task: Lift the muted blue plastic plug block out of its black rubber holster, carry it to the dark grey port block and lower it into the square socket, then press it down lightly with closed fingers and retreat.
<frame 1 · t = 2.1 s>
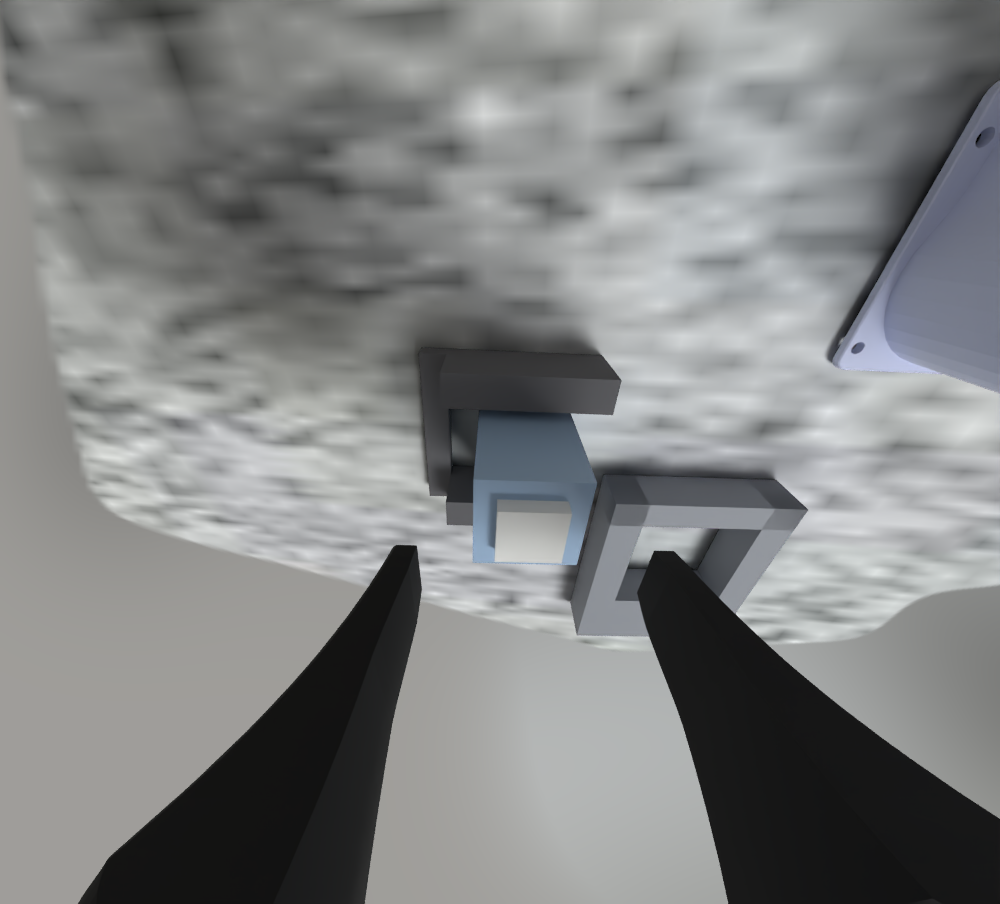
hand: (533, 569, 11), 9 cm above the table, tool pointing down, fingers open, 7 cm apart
port: (665, 536, 23), on the table
holster: (519, 428, 18), on the table
plug: (519, 428, 18), resting in holster
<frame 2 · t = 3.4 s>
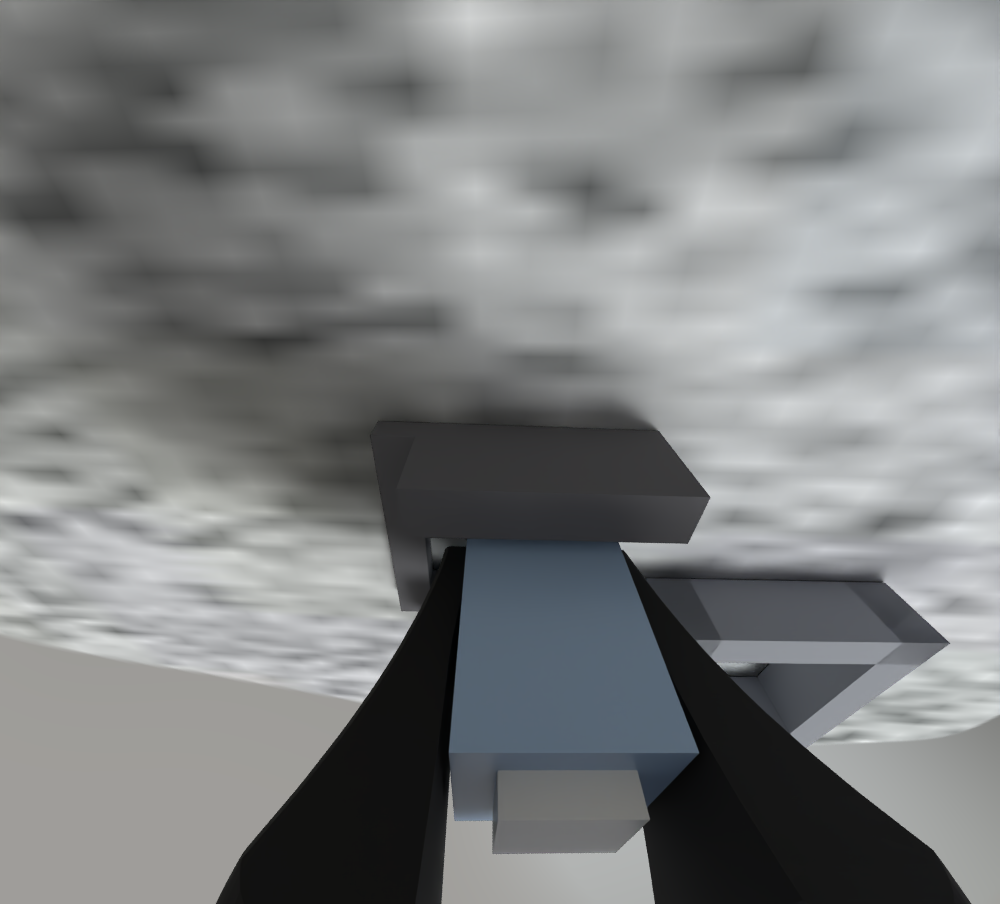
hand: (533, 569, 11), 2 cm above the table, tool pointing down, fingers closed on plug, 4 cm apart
port: (721, 643, 17), on the table
holster: (528, 525, 13), on the table
plug: (528, 525, 13), resting in holster, touching gripper
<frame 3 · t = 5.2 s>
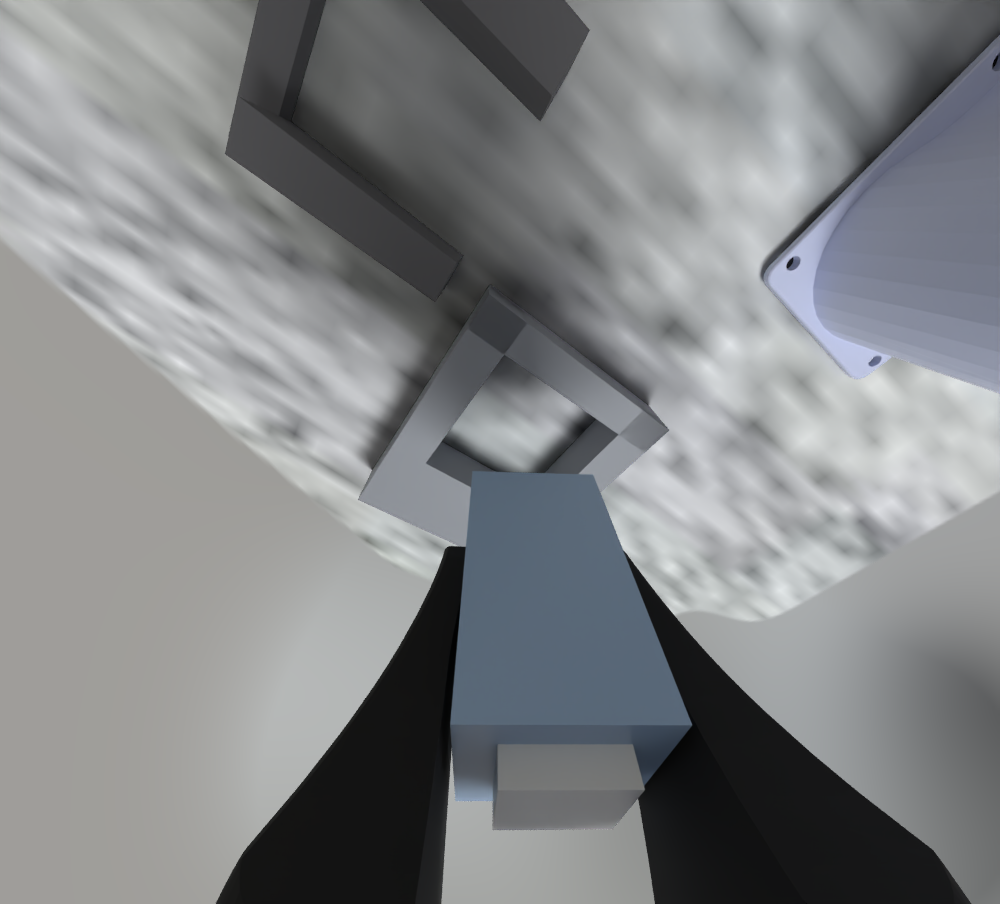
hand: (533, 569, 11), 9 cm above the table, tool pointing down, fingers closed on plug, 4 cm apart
port: (517, 423, 19), on the table
holster: (415, 121, 12), on the table
plug: (527, 517, 13), point 7 cm above the table, touching gripper
when the fingers open (3 cm above the table, at t = 7.3 s): plug drops 1 cm, resting in port.
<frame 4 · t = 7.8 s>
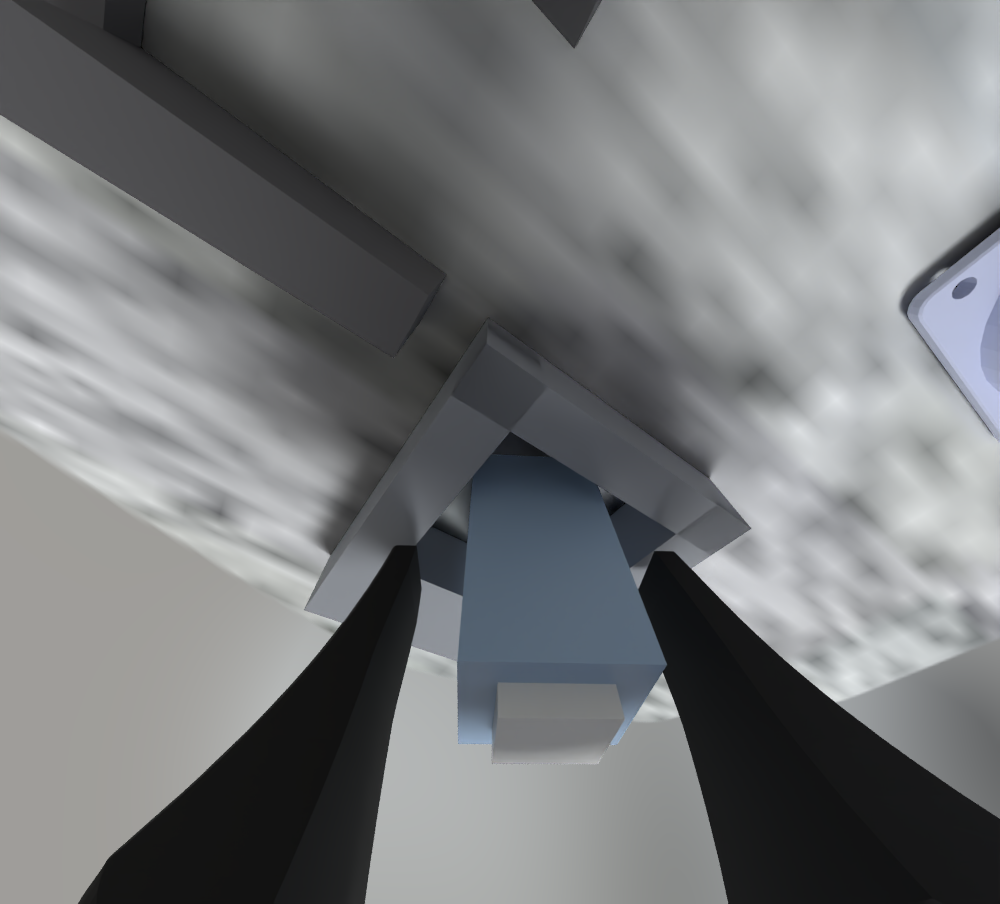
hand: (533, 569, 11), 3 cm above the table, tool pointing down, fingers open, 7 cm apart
port: (525, 501, 14), on the table
holster: (358, 48, 7), on the table
plug: (525, 499, 14), resting in port
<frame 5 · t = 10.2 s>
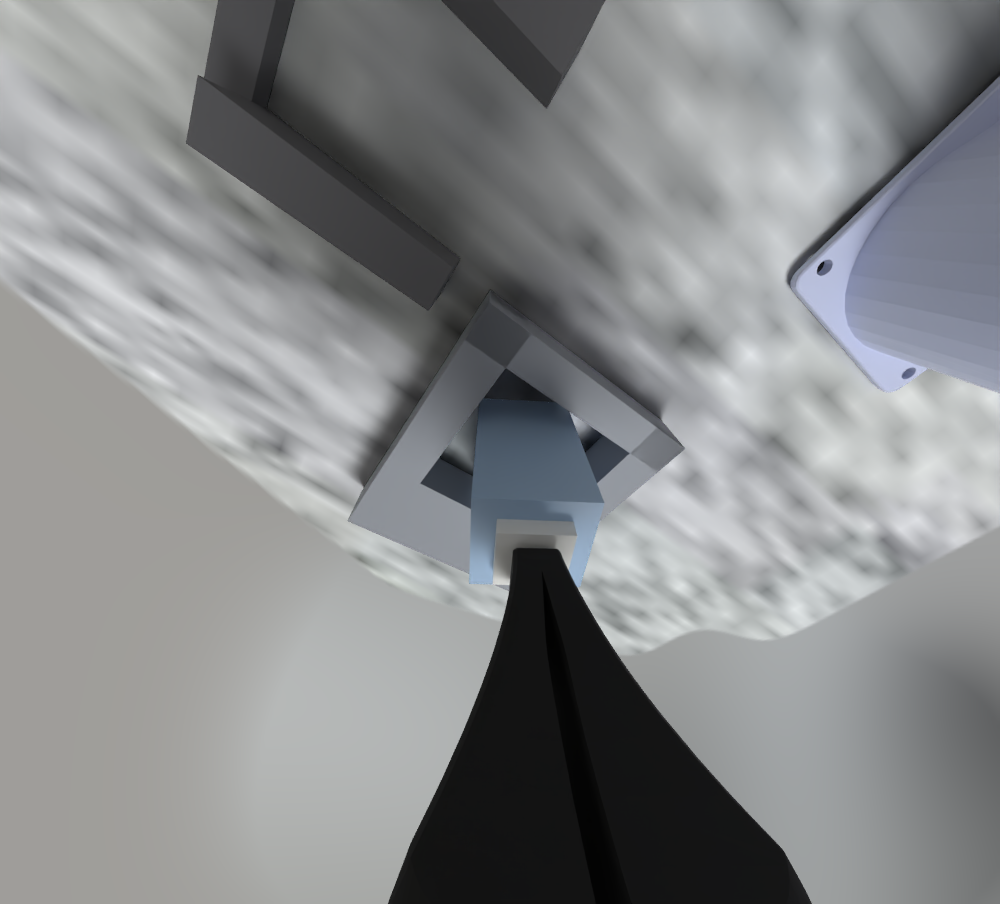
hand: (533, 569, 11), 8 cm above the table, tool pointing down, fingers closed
port: (519, 438, 17), on the table
holster: (407, 108, 11), on the table
plug: (518, 437, 17), resting in port
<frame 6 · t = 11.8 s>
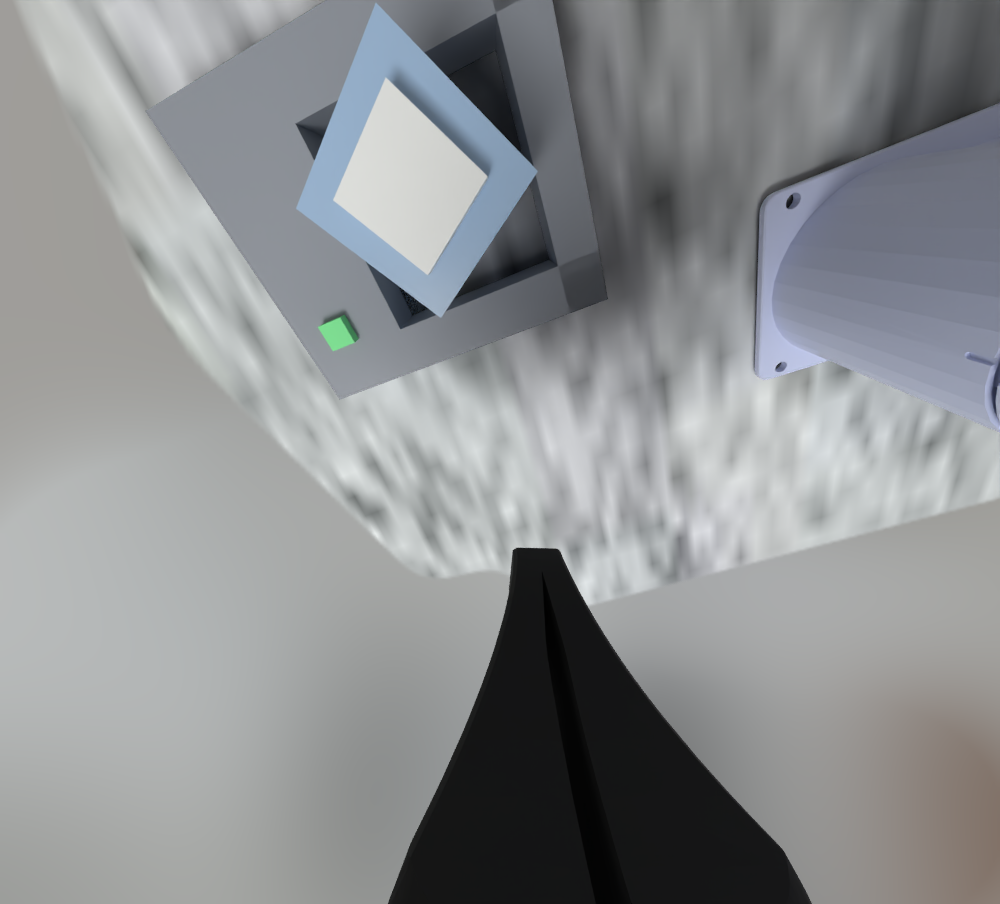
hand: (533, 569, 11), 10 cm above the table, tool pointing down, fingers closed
port: (447, 204, 14), on the table
plug: (447, 202, 14), resting in port
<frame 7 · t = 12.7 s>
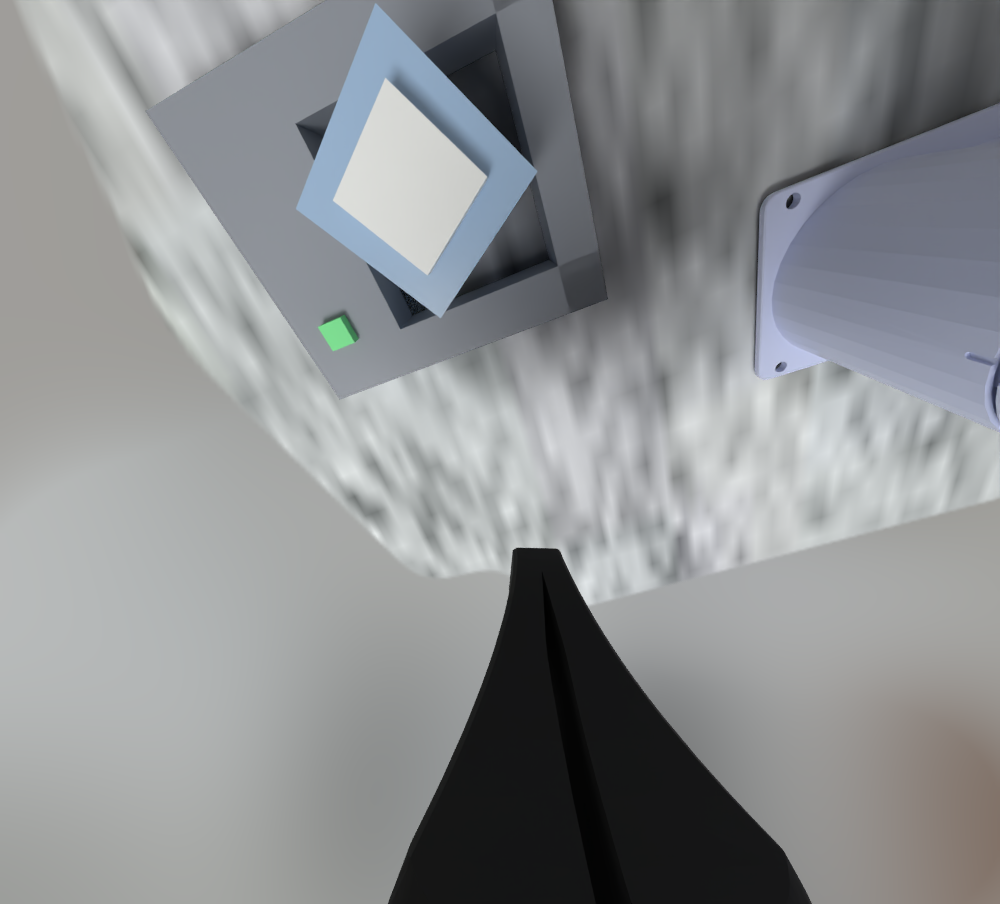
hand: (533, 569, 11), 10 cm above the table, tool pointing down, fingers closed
port: (447, 204, 14), on the table
plug: (447, 202, 14), resting in port
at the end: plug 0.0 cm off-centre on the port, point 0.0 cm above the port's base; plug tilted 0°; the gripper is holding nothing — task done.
